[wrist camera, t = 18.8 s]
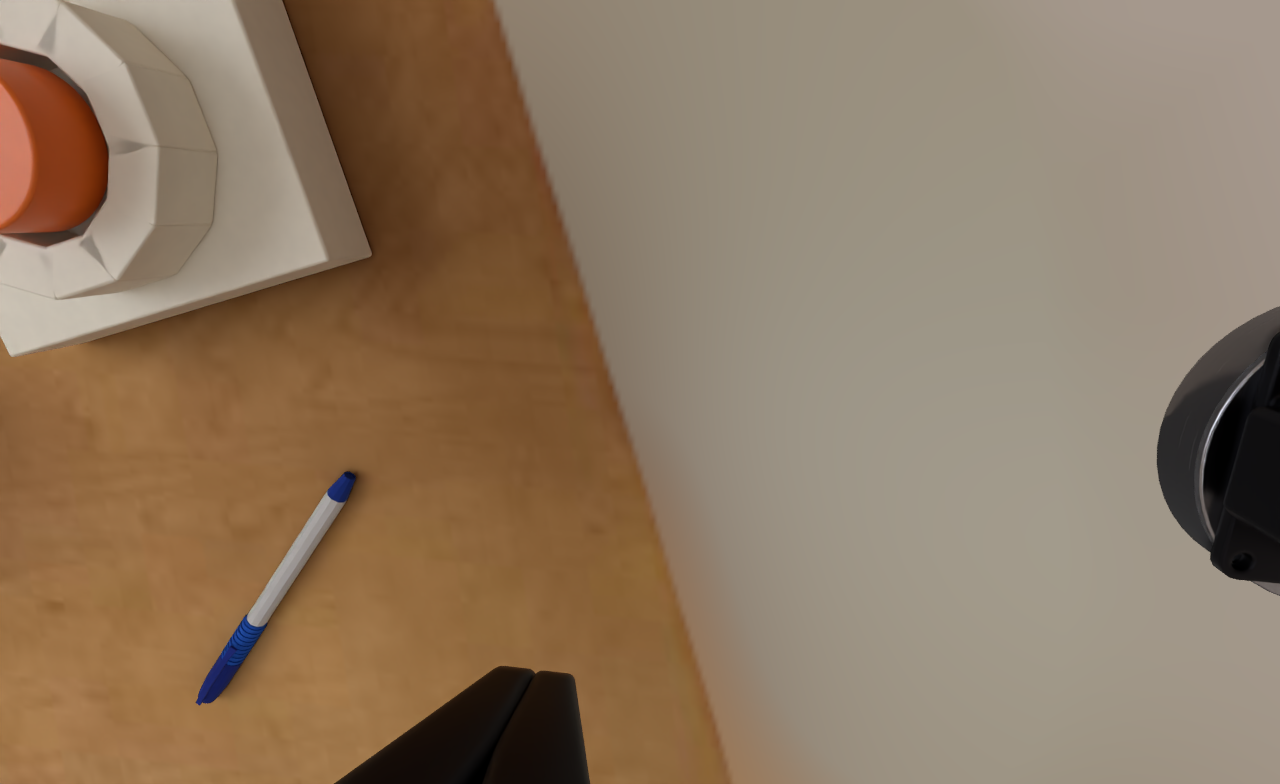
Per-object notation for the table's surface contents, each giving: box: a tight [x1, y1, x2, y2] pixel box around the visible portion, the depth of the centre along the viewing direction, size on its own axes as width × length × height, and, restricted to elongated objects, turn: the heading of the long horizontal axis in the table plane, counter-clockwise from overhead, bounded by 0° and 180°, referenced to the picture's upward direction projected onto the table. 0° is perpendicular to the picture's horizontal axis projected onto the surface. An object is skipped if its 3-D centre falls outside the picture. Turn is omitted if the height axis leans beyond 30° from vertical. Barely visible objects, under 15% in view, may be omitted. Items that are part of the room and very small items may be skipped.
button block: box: [0, 0, 372, 357], centre depth 17 cm, size 10×8×4 cm
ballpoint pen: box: [196, 472, 356, 705], centre depth 22 cm, size 10×1×1 cm, turn 145°
